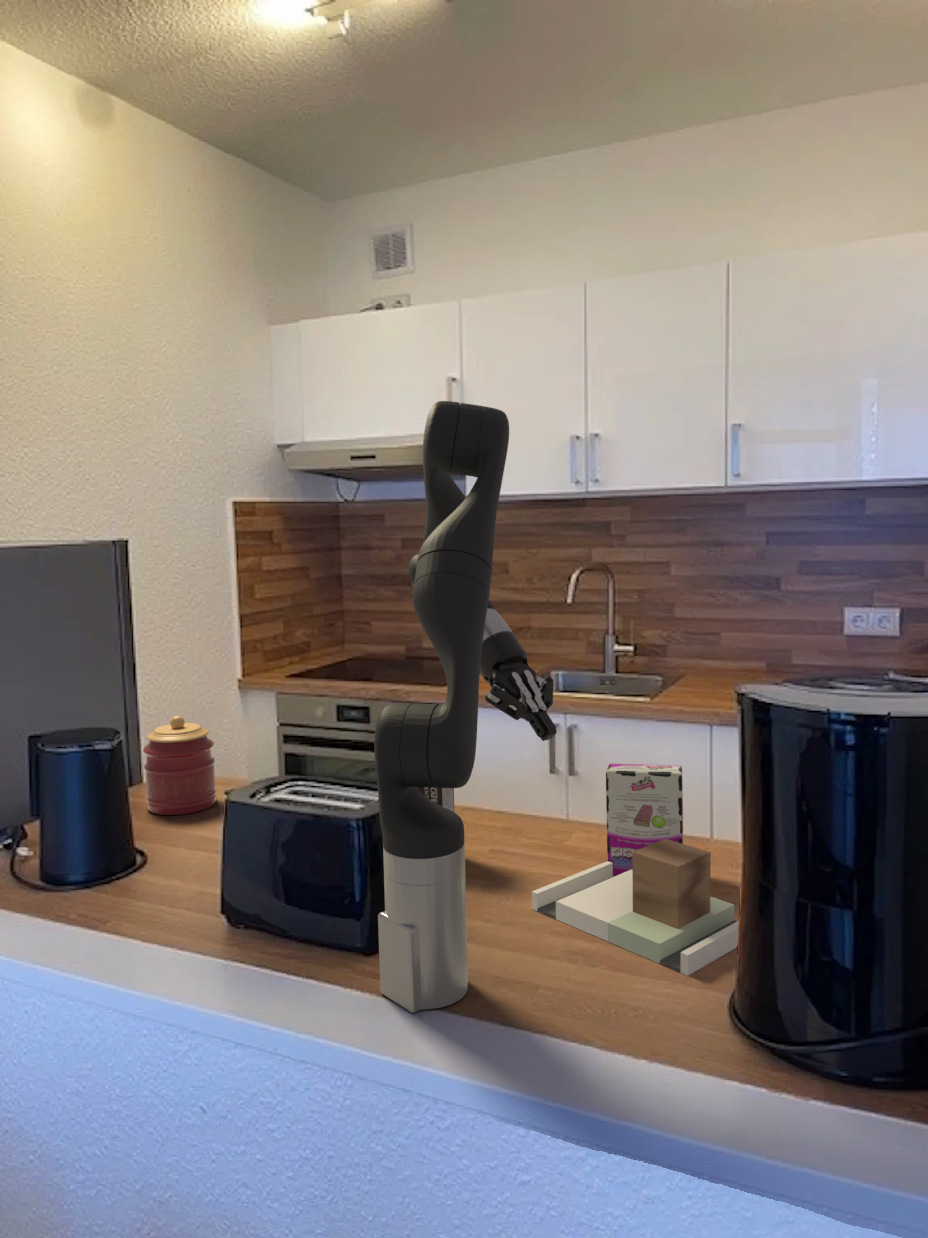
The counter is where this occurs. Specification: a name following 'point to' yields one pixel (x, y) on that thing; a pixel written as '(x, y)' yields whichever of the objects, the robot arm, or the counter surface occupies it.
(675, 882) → the walnut block
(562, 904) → the platform
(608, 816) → the candy bar box
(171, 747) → the canister
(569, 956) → the counter surface
